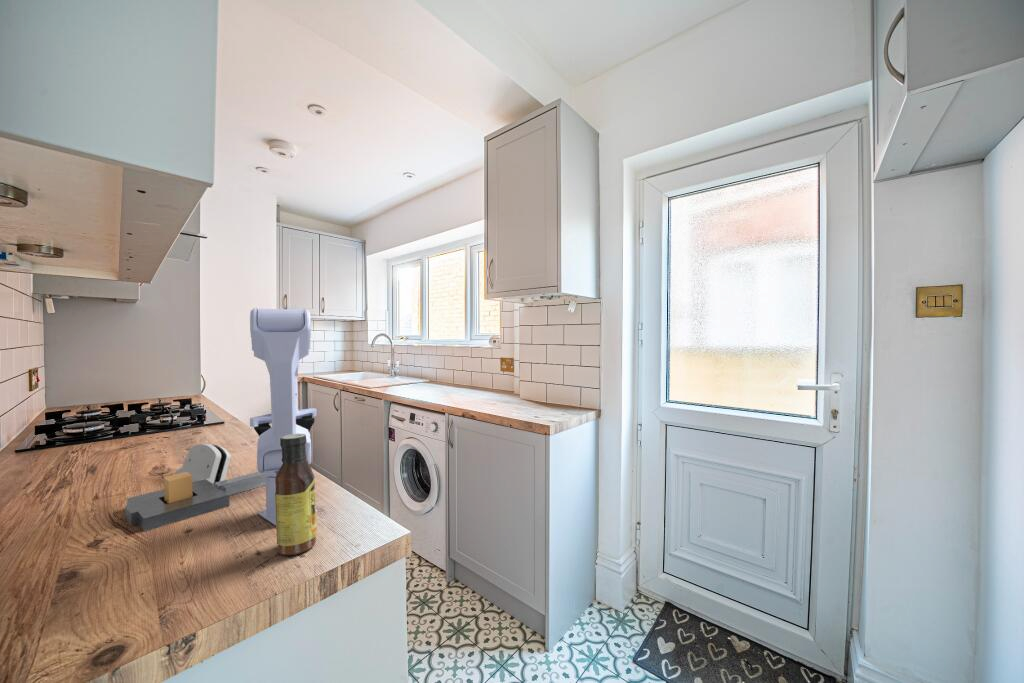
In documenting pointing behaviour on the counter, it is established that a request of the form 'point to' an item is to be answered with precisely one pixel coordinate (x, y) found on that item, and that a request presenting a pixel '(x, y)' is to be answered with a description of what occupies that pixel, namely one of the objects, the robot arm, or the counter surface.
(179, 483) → the wedge pin
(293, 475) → the sauce bottle
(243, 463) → the counter surface
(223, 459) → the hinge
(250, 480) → the grey mounting plate
